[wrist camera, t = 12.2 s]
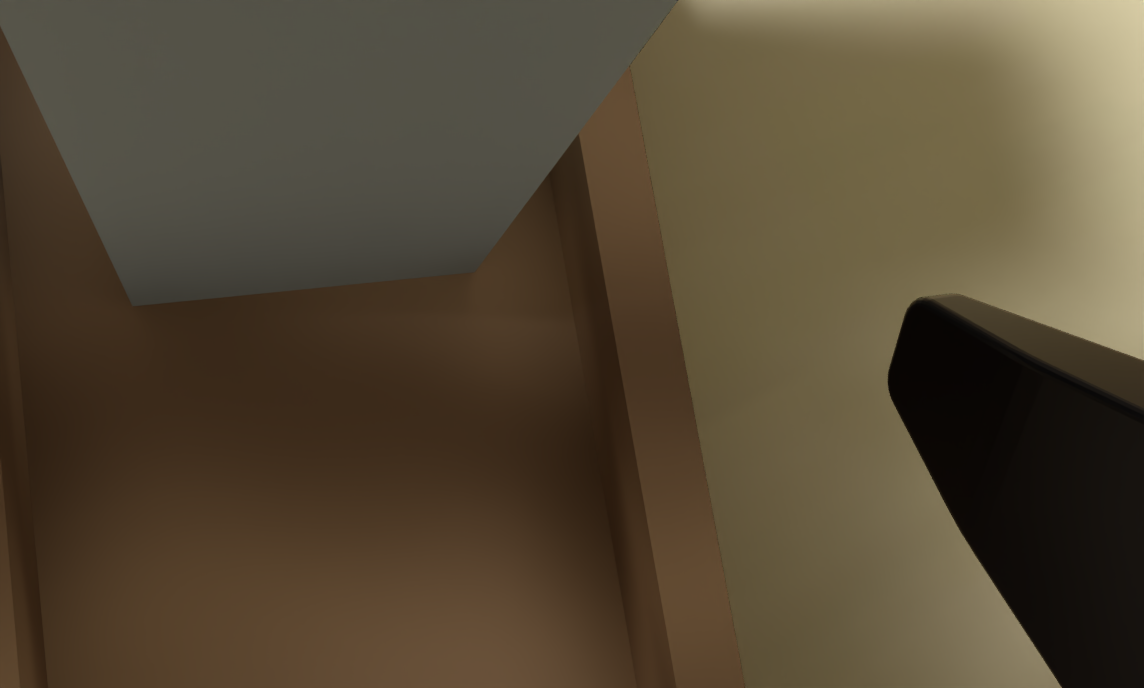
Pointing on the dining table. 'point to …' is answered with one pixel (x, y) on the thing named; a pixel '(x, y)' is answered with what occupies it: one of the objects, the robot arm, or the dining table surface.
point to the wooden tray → (356, 457)
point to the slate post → (313, 128)
